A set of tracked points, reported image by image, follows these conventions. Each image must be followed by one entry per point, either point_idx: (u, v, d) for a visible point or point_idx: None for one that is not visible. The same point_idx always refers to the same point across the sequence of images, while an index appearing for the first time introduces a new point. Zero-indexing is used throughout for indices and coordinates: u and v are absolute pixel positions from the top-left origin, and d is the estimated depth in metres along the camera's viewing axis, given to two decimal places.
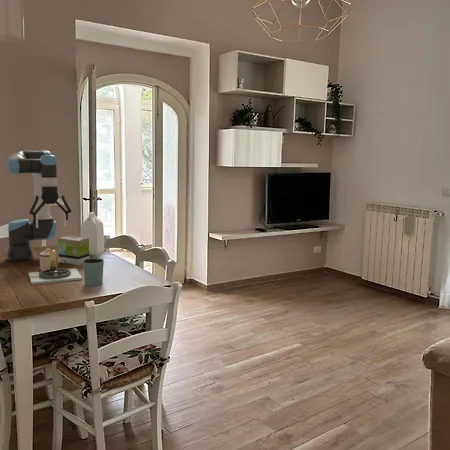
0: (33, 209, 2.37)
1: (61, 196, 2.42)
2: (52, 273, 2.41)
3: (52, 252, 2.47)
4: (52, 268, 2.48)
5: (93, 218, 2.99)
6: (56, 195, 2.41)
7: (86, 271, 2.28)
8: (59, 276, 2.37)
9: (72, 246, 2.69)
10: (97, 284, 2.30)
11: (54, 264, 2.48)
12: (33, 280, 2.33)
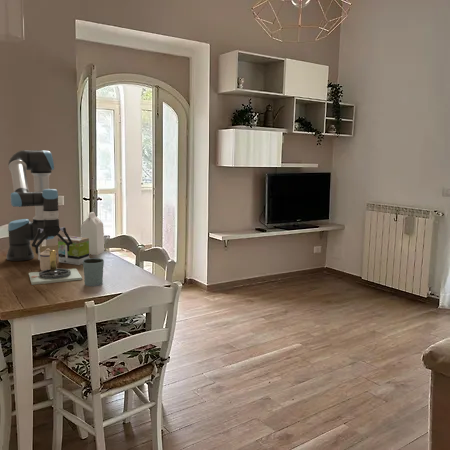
0: (35, 242, 2.42)
1: None
2: (52, 273, 2.41)
3: (52, 252, 2.47)
4: (52, 268, 2.48)
5: (93, 218, 2.99)
6: (58, 228, 2.46)
7: (86, 271, 2.28)
8: (59, 276, 2.37)
9: (72, 246, 2.69)
10: (97, 284, 2.30)
11: (54, 264, 2.48)
12: (33, 280, 2.33)
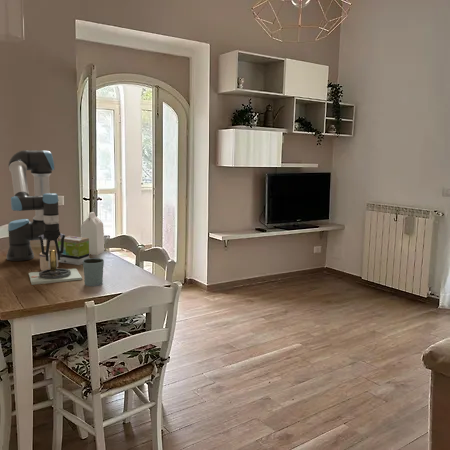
0: (43, 249, 2.45)
1: (62, 235, 2.49)
2: (52, 273, 2.41)
3: (52, 252, 2.47)
4: (52, 268, 2.48)
5: (93, 218, 2.99)
6: (59, 232, 2.47)
7: (86, 271, 2.28)
8: (59, 276, 2.37)
9: (72, 246, 2.69)
10: (97, 284, 2.30)
11: (54, 264, 2.48)
12: (33, 280, 2.33)
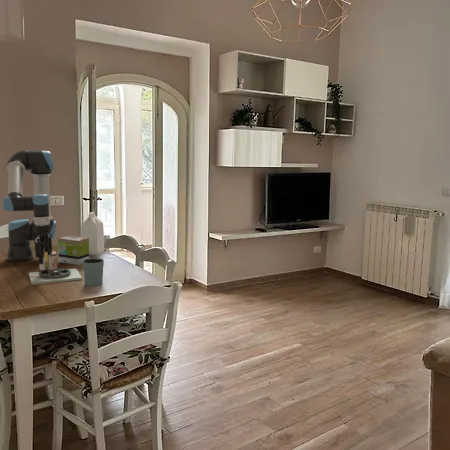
0: (41, 252, 2.39)
1: (49, 235, 2.48)
2: (55, 273, 2.41)
3: (46, 253, 2.44)
4: (46, 269, 2.45)
5: (93, 218, 2.99)
6: (48, 232, 2.46)
7: (86, 271, 2.28)
8: (67, 274, 2.41)
9: (72, 246, 2.69)
10: (97, 284, 2.30)
11: (47, 265, 2.46)
12: (33, 280, 2.33)
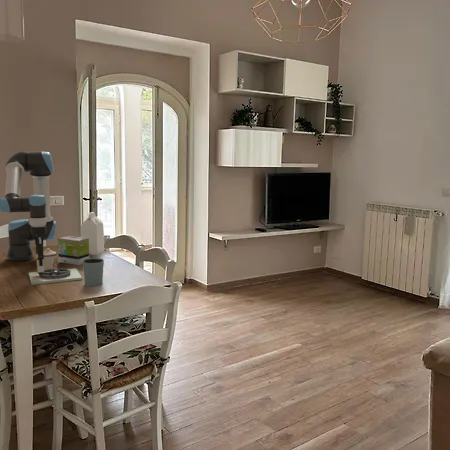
0: None
1: None
2: (58, 272, 2.43)
3: None
4: None
5: (93, 218, 2.99)
6: None
7: (86, 271, 2.28)
8: (70, 271, 2.47)
9: (72, 246, 2.69)
10: (97, 284, 2.30)
11: None
12: (33, 280, 2.33)
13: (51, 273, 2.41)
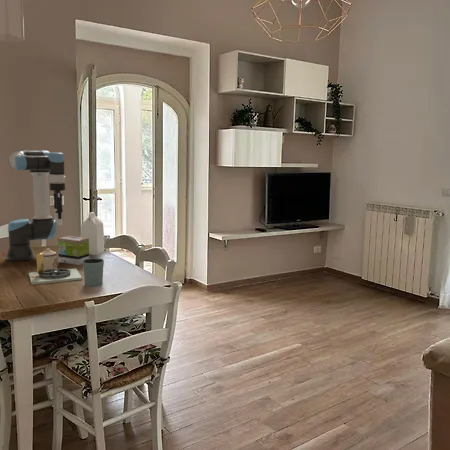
0: None
1: None
2: (58, 272, 2.43)
3: (42, 255, 2.40)
4: (43, 271, 2.41)
5: (93, 218, 2.99)
6: None
7: (86, 271, 2.28)
8: (70, 271, 2.47)
9: (72, 246, 2.69)
10: (97, 284, 2.30)
11: None
12: (33, 280, 2.33)
13: (51, 273, 2.41)
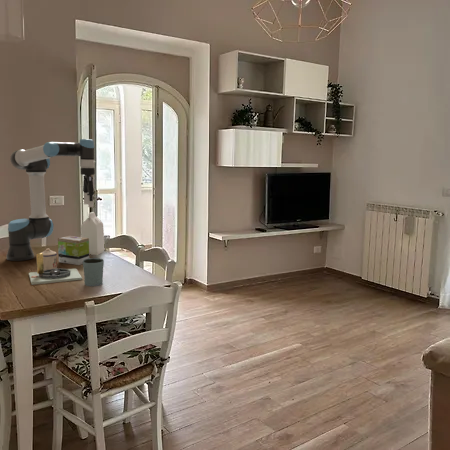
0: None
1: None
2: (58, 272, 2.43)
3: (42, 255, 2.40)
4: (43, 271, 2.41)
5: (93, 218, 2.99)
6: None
7: (86, 271, 2.28)
8: (70, 271, 2.47)
9: (72, 246, 2.69)
10: (97, 284, 2.30)
11: None
12: (33, 280, 2.33)
13: (51, 273, 2.41)
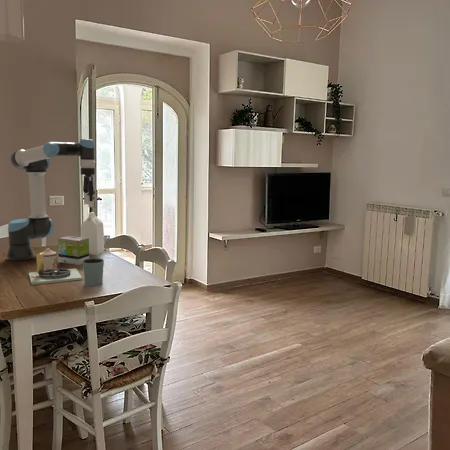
0: None
1: None
2: (58, 272, 2.43)
3: (42, 255, 2.40)
4: (43, 271, 2.41)
5: (93, 218, 2.99)
6: None
7: (86, 271, 2.28)
8: (70, 271, 2.47)
9: (72, 246, 2.69)
10: (97, 284, 2.30)
11: None
12: (33, 280, 2.33)
13: (51, 273, 2.41)
